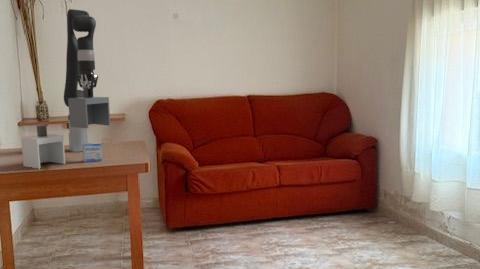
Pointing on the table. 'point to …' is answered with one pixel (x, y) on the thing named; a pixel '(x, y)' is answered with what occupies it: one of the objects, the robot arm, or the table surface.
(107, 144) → the table surface
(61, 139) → the grey hood
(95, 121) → the box
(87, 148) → the medicine box
